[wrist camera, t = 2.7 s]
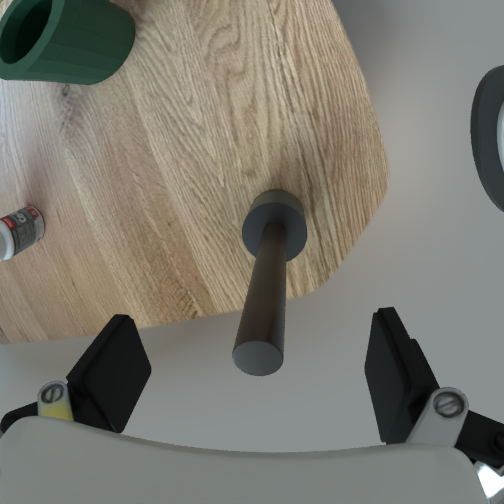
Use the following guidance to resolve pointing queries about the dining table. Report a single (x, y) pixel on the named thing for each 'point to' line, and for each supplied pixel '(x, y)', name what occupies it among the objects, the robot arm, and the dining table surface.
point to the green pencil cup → (64, 40)
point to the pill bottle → (20, 231)
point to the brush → (268, 279)
